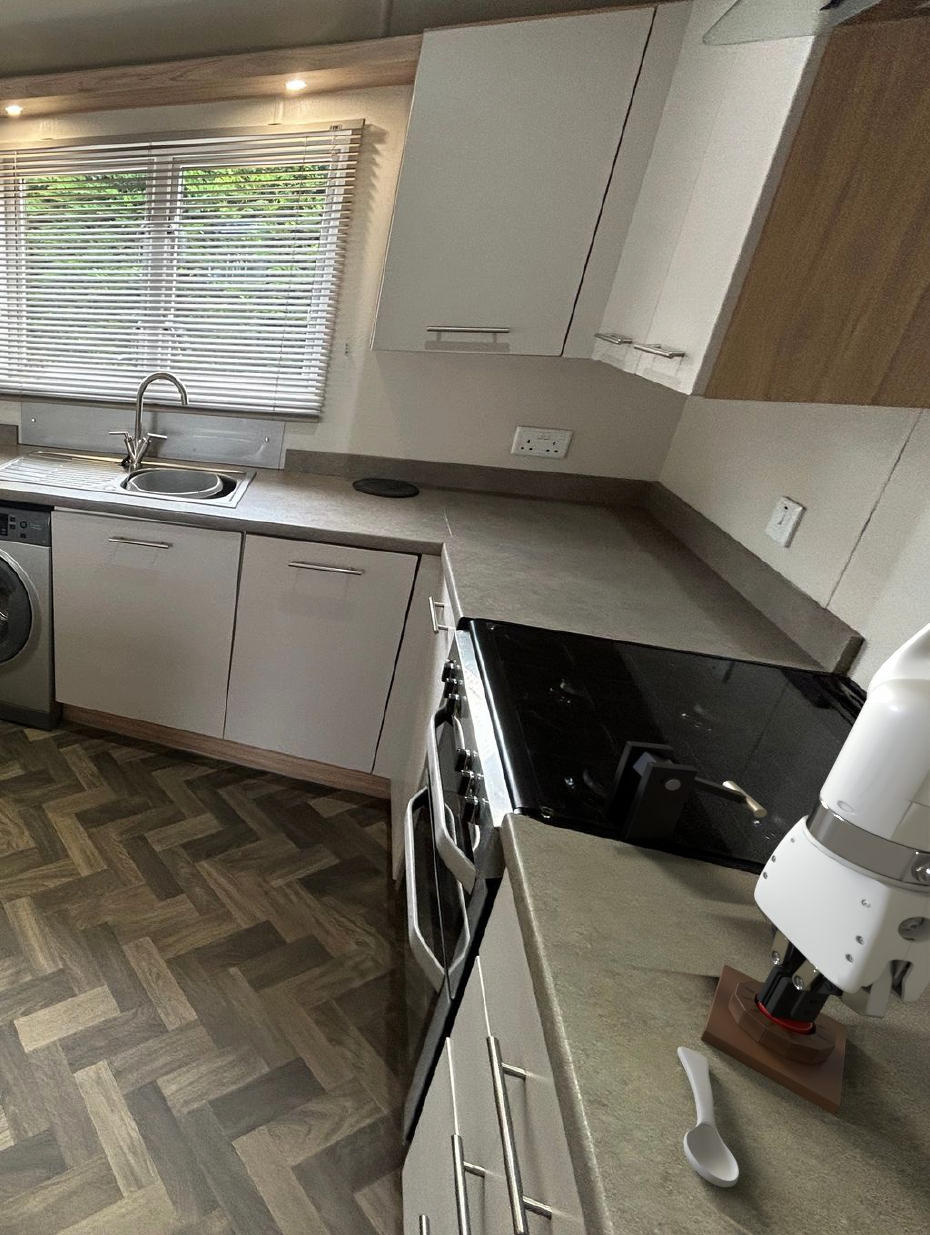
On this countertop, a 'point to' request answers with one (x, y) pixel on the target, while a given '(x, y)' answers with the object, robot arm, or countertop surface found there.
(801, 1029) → the power button
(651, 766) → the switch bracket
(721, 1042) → the control block
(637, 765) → the switch lever
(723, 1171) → the spoon
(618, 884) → the countertop surface
